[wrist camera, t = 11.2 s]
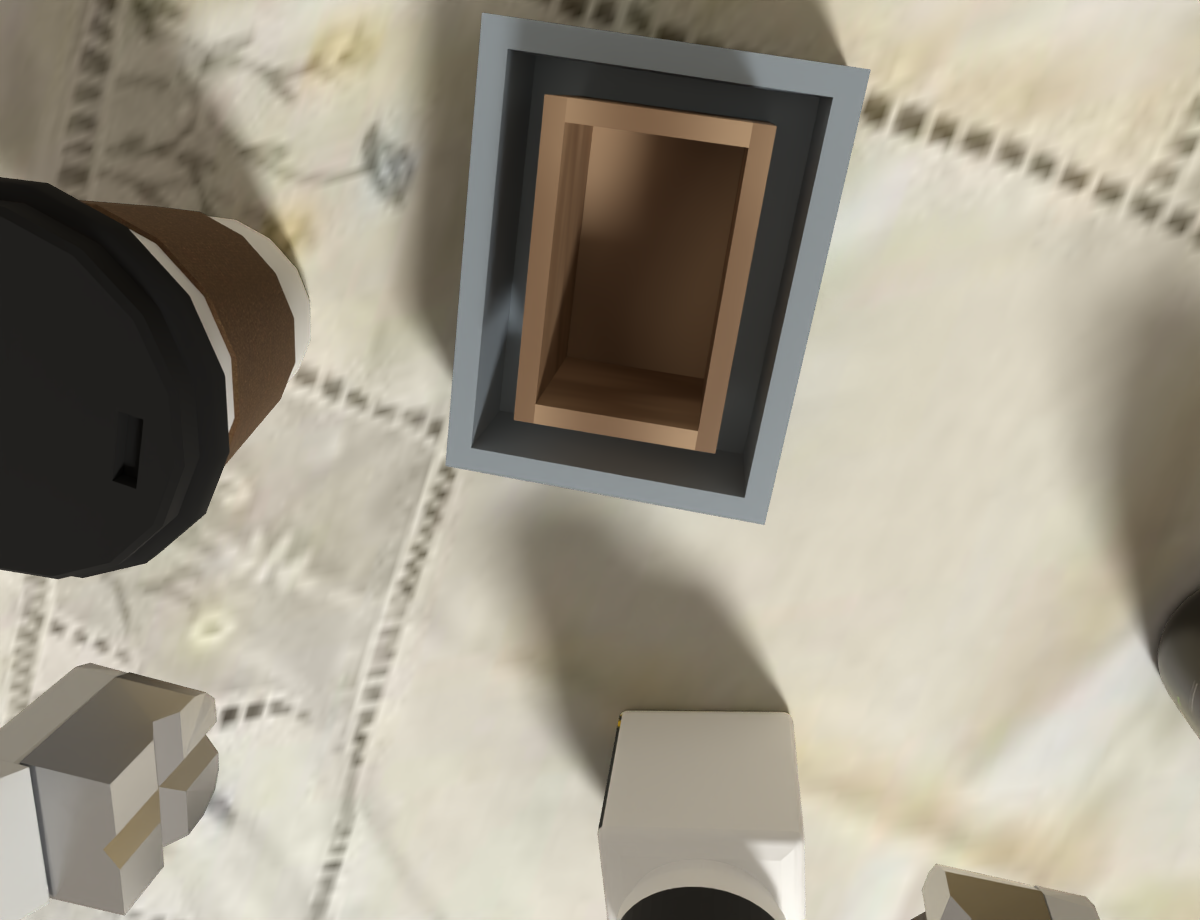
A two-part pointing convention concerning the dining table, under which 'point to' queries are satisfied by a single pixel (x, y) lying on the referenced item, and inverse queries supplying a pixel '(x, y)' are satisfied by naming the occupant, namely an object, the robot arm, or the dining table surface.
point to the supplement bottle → (1183, 659)
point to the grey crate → (775, 284)
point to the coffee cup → (129, 371)
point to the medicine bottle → (703, 818)
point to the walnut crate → (638, 268)
